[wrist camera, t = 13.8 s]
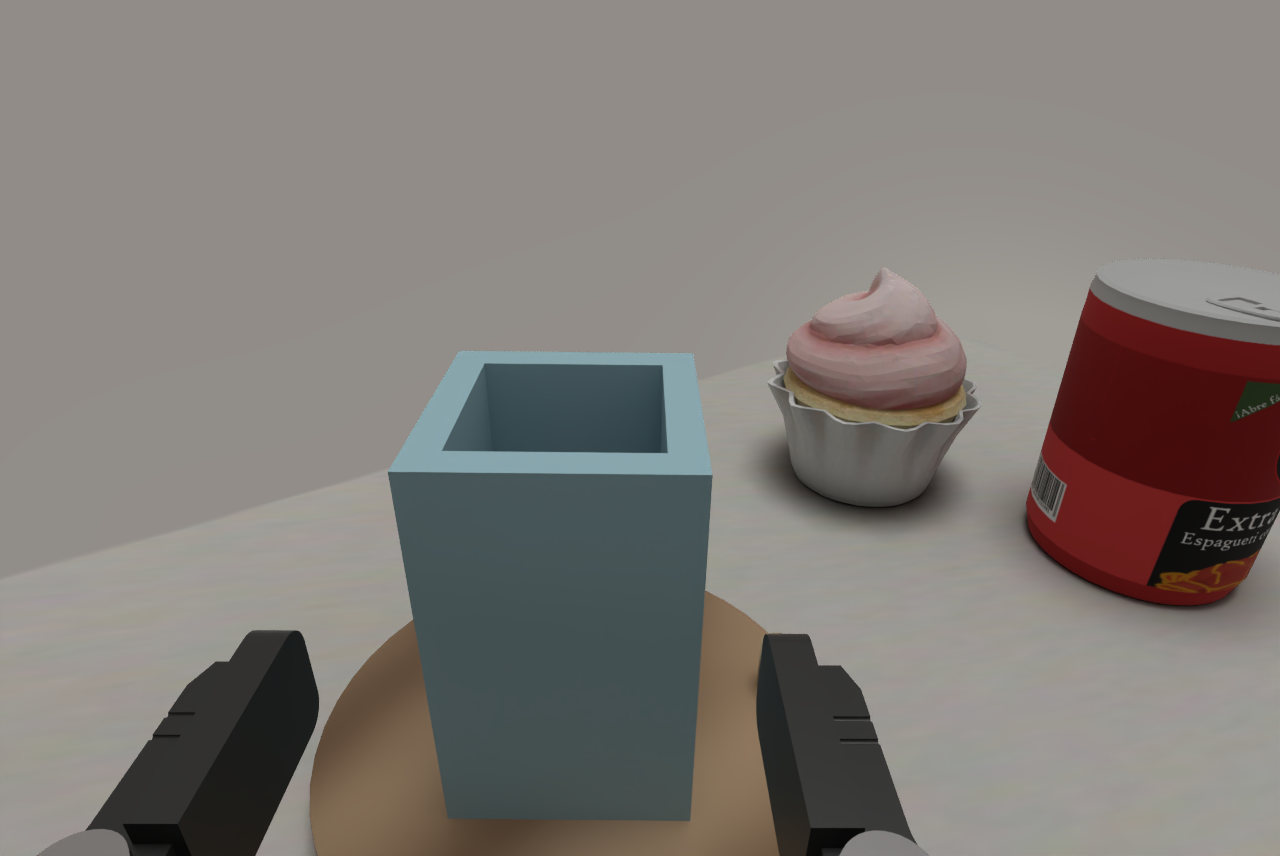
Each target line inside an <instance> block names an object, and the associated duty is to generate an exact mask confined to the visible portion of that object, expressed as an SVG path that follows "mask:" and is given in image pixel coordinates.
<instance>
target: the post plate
mask: <svg viewBox="0 0 1280 856" xmlns="http://www.w3.org/2000/svg"><path fill="white" fill-rule="evenodd" d="M765 634H768V633H767V632H766V631H765V630H764V629H763V628H762V627H761V626H760V625H758V624H757V623H756V622H755V621H753V620H752V619H751V618H750V617H748V616H747V615H746V614H745V613H743V612H741V611H740V610H738V609H737V608H735V607H734V606H732V605H731V604H729V603H728V602H726V601H724V600H722V599H720V598H718V597H717V596H715V595H713V594H711V593H709V592H707V591H705V598H704V614H703V630H702V645H701V661H700V677H699V692H698V708H697V723H696V739H695V755H694V770H693V786H692V802H691V817H690V821H646V820H542V819H448V817H447V811H446V805H445V799H444V793H443V788H442V782H441V776H440V770H439V764H438V759H437V753H436V747H435V741H434V736H433V730H432V724H431V718H430V712H429V707H428V701H427V695H426V689H425V683H424V678H423V672H422V666H421V660H420V654H419V649H418V643H417V637H416V631H415V626H414V620H412V621H411V622H410V623H408V624H407V625H406V626H404V627H403V628H402V629H401V630H399V631H398V632H397V633H396V634H394V635H393V636H392V637H390V638H389V639H388V640H387V641H386V642H385V643H384V644H383V645H382V646H381V647H380V648H379V649H378V650H377V651H376V652H375V653H374V654H373V655H372V656H371V657H370V658H369V659H368V660H367V661H366V663H365V664H364V665H363V666H362V667H361V668H360V670H359V671H358V672H357V673H356V674H355V676H354V677H353V678H352V680H351V681H350V683H349V684H348V686H347V687H346V689H345V690H344V692H343V693H342V695H341V696H340V698H339V699H338V701H337V703H336V705H335V707H334V709H333V711H332V713H331V715H330V717H329V719H328V721H327V723H326V725H325V727H324V730H323V733H322V736H321V739H320V742H319V745H318V748H317V751H316V754H315V759H314V765H313V771H312V777H311V783H310V820H311V826H312V832H313V838H314V844H315V849H316V852H317V855H318V856H779V850H778V845H777V839H776V833H775V827H774V822H773V816H772V810H771V805H770V799H769V793H768V788H767V782H766V776H765V770H764V765H763V759H762V753H761V748H760V742H759V736H758V729H757V718H756V697H757V688H758V679H759V670H760V661H761V653H762V644H763V638H764V635H765ZM770 634H781V633H770Z"/></svg>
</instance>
